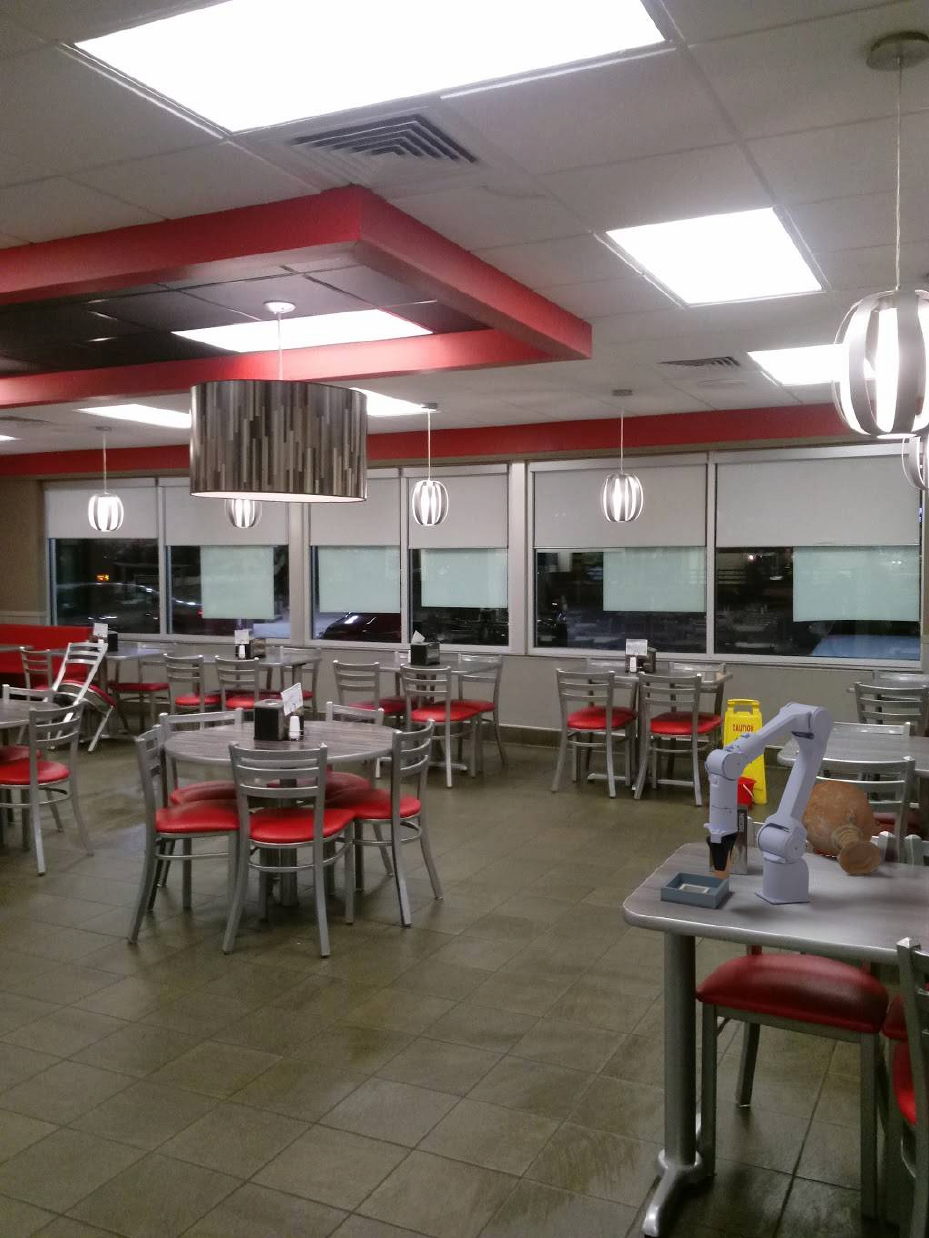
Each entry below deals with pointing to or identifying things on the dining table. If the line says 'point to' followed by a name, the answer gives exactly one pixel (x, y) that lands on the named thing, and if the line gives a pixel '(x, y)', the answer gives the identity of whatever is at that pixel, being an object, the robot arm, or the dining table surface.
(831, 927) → the dining table surface
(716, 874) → the peg
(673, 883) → the tray box
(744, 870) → the coffee box
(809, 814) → the jug
